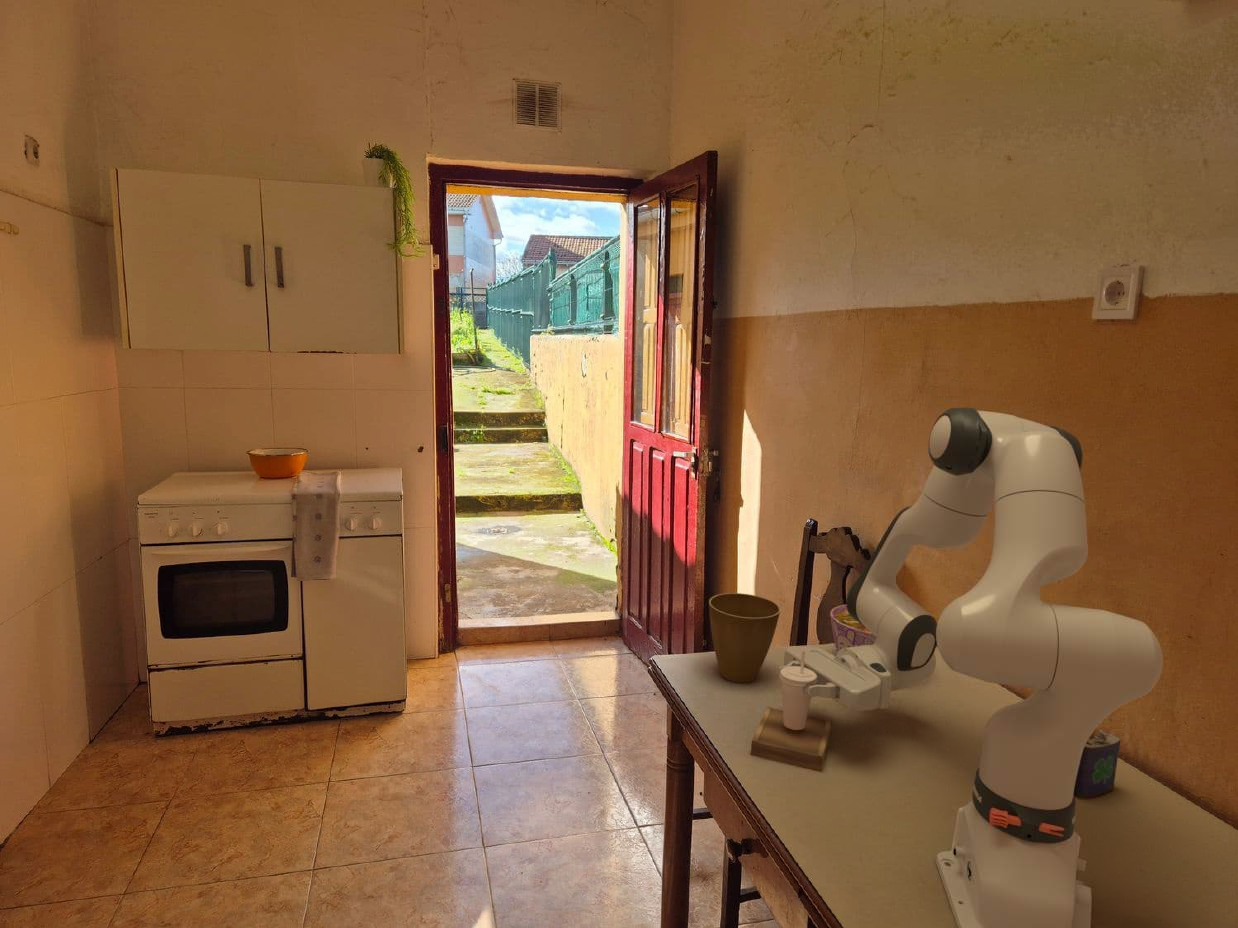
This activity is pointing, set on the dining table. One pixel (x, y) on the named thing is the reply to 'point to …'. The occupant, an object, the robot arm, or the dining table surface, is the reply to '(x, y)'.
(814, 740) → the board
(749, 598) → the plant pot
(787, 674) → the smoothie
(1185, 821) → the dining table surface
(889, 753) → the dining table surface
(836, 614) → the bowl of food
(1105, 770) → the flask
